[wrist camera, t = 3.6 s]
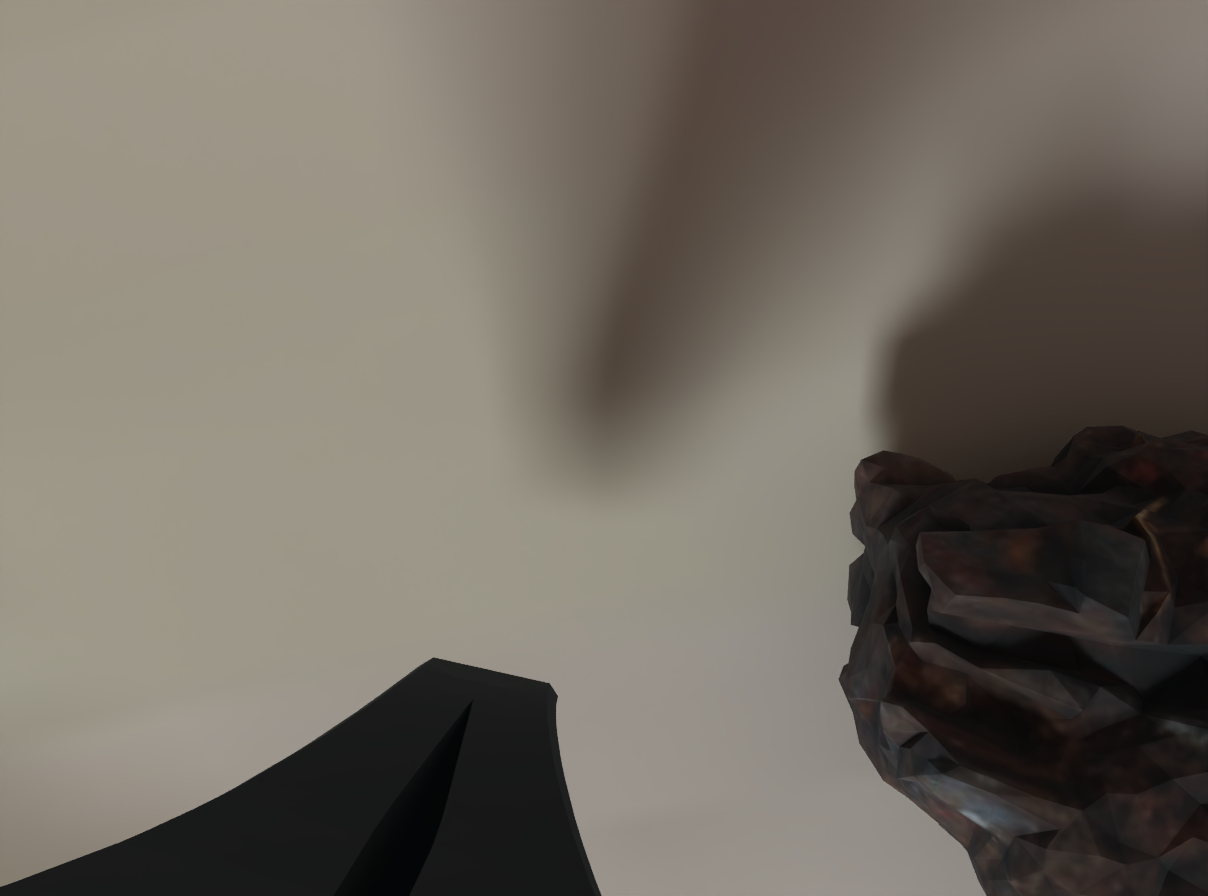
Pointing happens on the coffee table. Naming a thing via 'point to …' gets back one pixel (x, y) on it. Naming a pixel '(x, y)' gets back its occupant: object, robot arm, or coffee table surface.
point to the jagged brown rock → (1043, 660)
